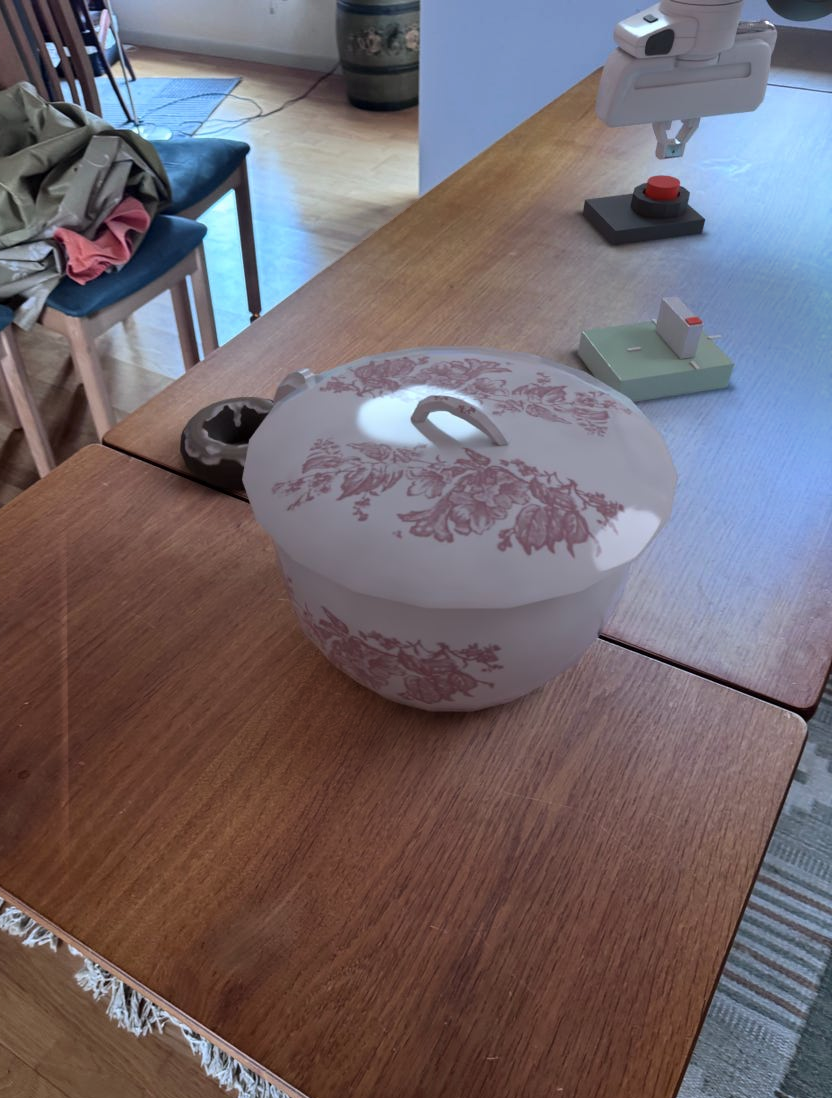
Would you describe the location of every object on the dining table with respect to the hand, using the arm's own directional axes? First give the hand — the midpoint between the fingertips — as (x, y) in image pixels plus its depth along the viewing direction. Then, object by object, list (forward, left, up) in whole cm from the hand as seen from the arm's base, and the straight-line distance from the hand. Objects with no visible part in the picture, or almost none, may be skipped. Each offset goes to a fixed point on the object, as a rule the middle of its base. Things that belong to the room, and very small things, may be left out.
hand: (668, 157), depth 112 cm
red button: (0, 0, -5) cm, 5 cm away
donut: (+59, +37, -8) cm, 70 cm away
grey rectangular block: (+14, +33, -5) cm, 36 cm away
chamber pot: (+47, +63, -8) cm, 79 cm away
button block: (+2, 0, -8) cm, 8 cm away
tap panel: (+16, +33, -8) cm, 38 cm away
